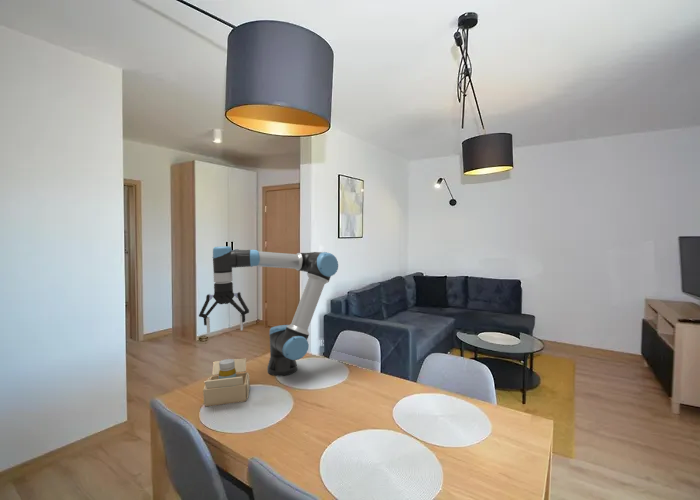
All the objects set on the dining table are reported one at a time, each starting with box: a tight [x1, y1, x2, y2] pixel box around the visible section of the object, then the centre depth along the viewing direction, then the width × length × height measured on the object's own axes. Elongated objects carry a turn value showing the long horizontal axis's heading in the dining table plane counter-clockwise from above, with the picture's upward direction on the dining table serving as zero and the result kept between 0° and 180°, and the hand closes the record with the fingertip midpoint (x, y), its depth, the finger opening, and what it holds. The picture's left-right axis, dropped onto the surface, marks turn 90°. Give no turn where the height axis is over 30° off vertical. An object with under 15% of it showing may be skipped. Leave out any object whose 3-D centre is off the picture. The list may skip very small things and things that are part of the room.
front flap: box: [203, 377, 243, 389], centre depth 138 cm, size 6×14×1 cm
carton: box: [202, 371, 251, 408], centre depth 147 cm, size 17×14×7 cm
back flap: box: [212, 357, 247, 376], centre depth 155 cm, size 6×14×1 cm
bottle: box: [218, 358, 237, 388], centre depth 147 cm, size 7×7×15 cm
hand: (225, 331), depth 146 cm, fingers open, 13 cm apart
